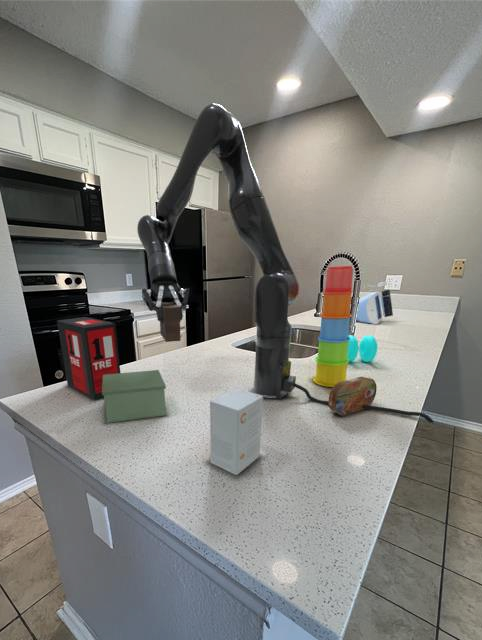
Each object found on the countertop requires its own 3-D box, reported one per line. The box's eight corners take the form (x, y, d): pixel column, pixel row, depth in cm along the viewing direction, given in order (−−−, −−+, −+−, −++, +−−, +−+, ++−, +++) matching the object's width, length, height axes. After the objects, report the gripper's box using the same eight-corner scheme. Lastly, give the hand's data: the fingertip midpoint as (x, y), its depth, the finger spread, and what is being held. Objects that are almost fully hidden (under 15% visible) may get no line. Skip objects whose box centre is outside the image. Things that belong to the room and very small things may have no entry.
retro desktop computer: (388, 279, 199) (391, 280, 185) (393, 316, 205) (396, 320, 190) (344, 290, 210) (344, 292, 196) (350, 325, 216) (350, 329, 201)
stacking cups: (329, 390, 95) (346, 266, 83) (306, 379, 104) (319, 265, 92) (354, 385, 99) (375, 265, 87) (330, 375, 108) (345, 265, 96)
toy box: (160, 396, 91) (158, 369, 88) (167, 415, 80) (165, 385, 77) (106, 402, 87) (102, 374, 84) (105, 423, 76) (101, 392, 73)
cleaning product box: (67, 385, 99) (56, 320, 92) (94, 378, 105) (85, 316, 98) (94, 400, 89) (84, 328, 82) (122, 391, 95) (115, 323, 88)
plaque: (160, 334, 95) (158, 302, 91) (174, 333, 96) (173, 302, 92) (165, 341, 86) (164, 307, 82) (181, 340, 87) (180, 307, 83)
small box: (234, 445, 67) (235, 387, 62) (260, 456, 63) (264, 395, 58) (209, 463, 61) (209, 400, 56) (236, 476, 57) (238, 410, 52)
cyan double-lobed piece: (375, 365, 118) (381, 338, 114) (348, 365, 118) (352, 338, 115) (363, 357, 127) (368, 332, 124) (338, 357, 127) (342, 332, 124)
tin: (333, 418, 78) (338, 386, 75) (323, 413, 81) (328, 382, 78) (374, 406, 84) (380, 376, 81) (364, 402, 87) (369, 373, 84)
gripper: (137, 262, 88) (144, 313, 82) (187, 262, 92) (198, 311, 85) (137, 281, 95) (144, 330, 88) (184, 280, 99) (194, 327, 92)
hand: (170, 320), depth 87 cm, fingers closed on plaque, 4 cm apart
